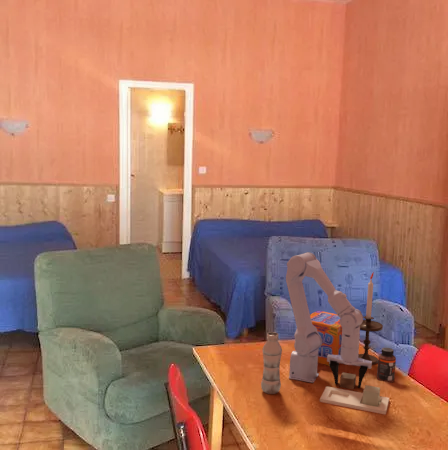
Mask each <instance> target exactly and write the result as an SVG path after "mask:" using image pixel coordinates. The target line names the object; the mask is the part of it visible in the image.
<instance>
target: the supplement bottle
mask: <svg viewBox="0 0 448 450" xmlns="http://www.w3.org/2000/svg"><path fill="white" fill-rule="evenodd" d="M377 358H378V363H377V373H376V378H377V380H378V381H380V382H385V383H393V382H395V378H396V377H395V375H396V363H397V358H396V355H394V349H393V348H391V347H382V348H381V353H379V355H378V357H377Z"/></svg>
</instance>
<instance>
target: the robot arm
mask: <svg viewBox="0 0 448 450" xmlns="http://www.w3.org/2000/svg"><path fill="white" fill-rule="evenodd" d="M286 269H287V270H286V274H285V275H286V276H285V282H286V286H287V290H288V295H289V299H290V303H291V307H292V308H291V309H292V312H293V316H294V321H295V324H296V330H295V332H294V334H293V335H294V343H293V344H294V350H292V352H291V354H290V359H289V374H288V379H291V380H296V381H301V382H305V383H312V384H314V383H315V381H316V380H317V378H318V376H319V373H318V365H319V363H318V348H320V347H321V345H322V339H321V336H320V335H319V334H318V332H317V328H316V327H315V326H313V325H312V321H311V317H310V310H309V309H310V308H309V306H308V300H307V296H306V292H305V288H304V284H303V280H304V278H305V277H307V278H312V279H314V281H315V282H316V284H317V285H318V286H319V287H320V288H321V289H322V290H323V292H324V293H325V294H326V296H327V302H328V304H329V305H330V307H331V308H332V309H333V311H334V312H335V314H337V315H338V316H339V317H340V325H341V326H342V344H341V355H330V354H328V356H327V362H330V366H329V368H330V370H331V373H332V375H333V379H334V384H335V385H337V384H338V383H339V369H340V368H339V367H340V364H339V363H341V364H343V365H348V366H355V367H359V368H358V384H357V388H358V389H361V387H362V382H363V379H364V377H365V376H366V373H367V372H368V370H369V369H372V366H373V365H372V361H368V360H364V359H361V358H358V354H360V352H359V350H360V349H359V348H360V338H361V337H360V334H361V330H360V326H359V325H361V324H362V322H363V320H364V318H363V317H364V316H363V313H362V311H361V310H360V309H358V308H356V307H355V306H353V305H352V303H351V302H350V301H349V299H347V294H346V293H344V292H343V291H340V290H337V289H336V287H335V286H334V285H333V283H332V281H331V279H330V278H329V277H328V275H327V273H326V272H325V271H324V269H323V267H322V265H321V262H320V260H318V259H317V257H316V255H315V254H314V253H312V252H309V251H308V252H304V253H300V254H298V255H293V256H291V257H290V259H289V260H288V261H287V263H286Z"/></svg>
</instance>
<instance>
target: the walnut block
mask: <svg viewBox="0 0 448 450" xmlns="http://www.w3.org/2000/svg"><path fill="white" fill-rule="evenodd" d="M356 383H357V374H356V373H347V372H344V371H343V372H342V373H341V375H340V378H339V387H340V388H341V389H342V388H344V389H347V390H354V389H355V386H356Z"/></svg>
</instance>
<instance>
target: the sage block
mask: <svg viewBox="0 0 448 450" xmlns="http://www.w3.org/2000/svg"><path fill="white" fill-rule="evenodd" d="M362 393H363V404H366V405H371V406H376V407H378V405H379V397H380V396H381V395H380V394H381V387H377V386H373V385H367V384H366V385H364V389H363V391H362Z"/></svg>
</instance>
